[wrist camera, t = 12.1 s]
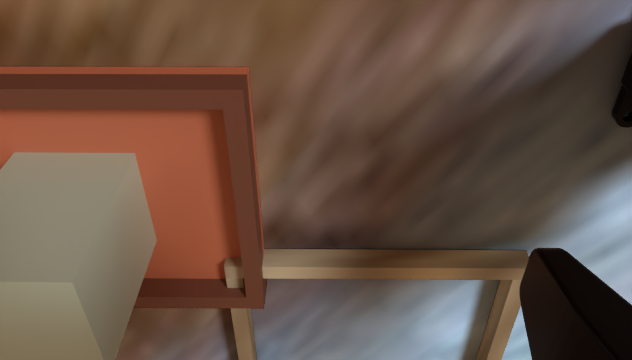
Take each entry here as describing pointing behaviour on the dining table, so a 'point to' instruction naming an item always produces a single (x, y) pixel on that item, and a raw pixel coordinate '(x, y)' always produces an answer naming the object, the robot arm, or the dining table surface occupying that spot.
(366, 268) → the tan thin square frame
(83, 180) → the sage block
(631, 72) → the robot arm
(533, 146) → the dining table surface
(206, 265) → the tray
